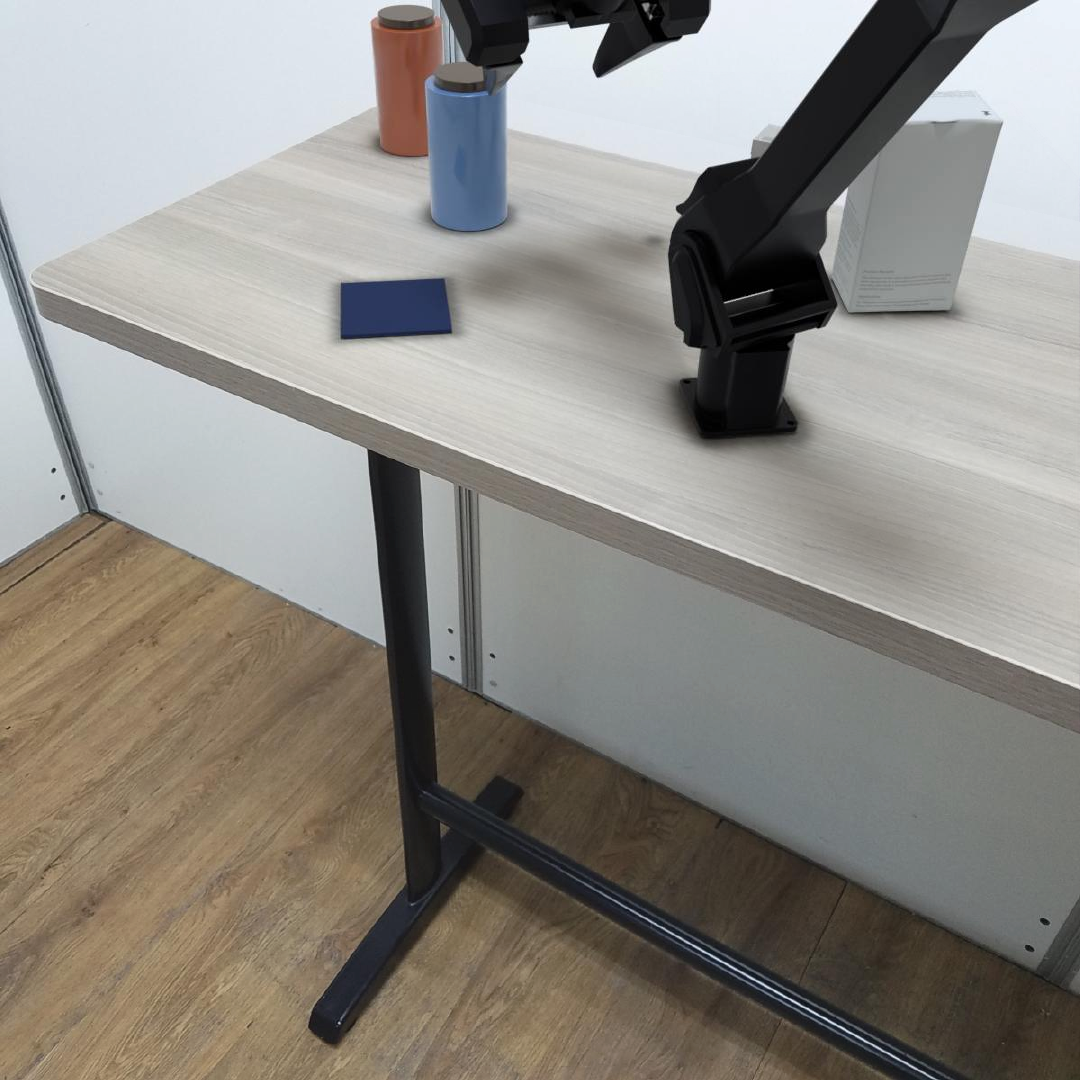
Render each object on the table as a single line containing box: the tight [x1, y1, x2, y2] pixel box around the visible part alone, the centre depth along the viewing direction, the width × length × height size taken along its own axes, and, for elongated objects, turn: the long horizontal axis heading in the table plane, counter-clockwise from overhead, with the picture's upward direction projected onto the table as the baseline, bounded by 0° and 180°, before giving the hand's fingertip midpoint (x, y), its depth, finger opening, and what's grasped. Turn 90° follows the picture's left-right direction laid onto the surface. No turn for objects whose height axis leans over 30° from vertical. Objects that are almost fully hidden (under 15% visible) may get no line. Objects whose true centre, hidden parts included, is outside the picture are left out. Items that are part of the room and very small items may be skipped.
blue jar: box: [425, 61, 508, 232], centre depth 90 cm, size 7×7×12 cm
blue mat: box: [340, 277, 453, 340], centre depth 81 cm, size 8×8×1 cm
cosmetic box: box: [831, 89, 1005, 313], centre depth 79 cm, size 8×6×15 cm
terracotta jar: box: [369, 4, 445, 157], centre depth 102 cm, size 7×7×12 cm
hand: (543, 81), depth 81 cm, fingers open, 9 cm apart
